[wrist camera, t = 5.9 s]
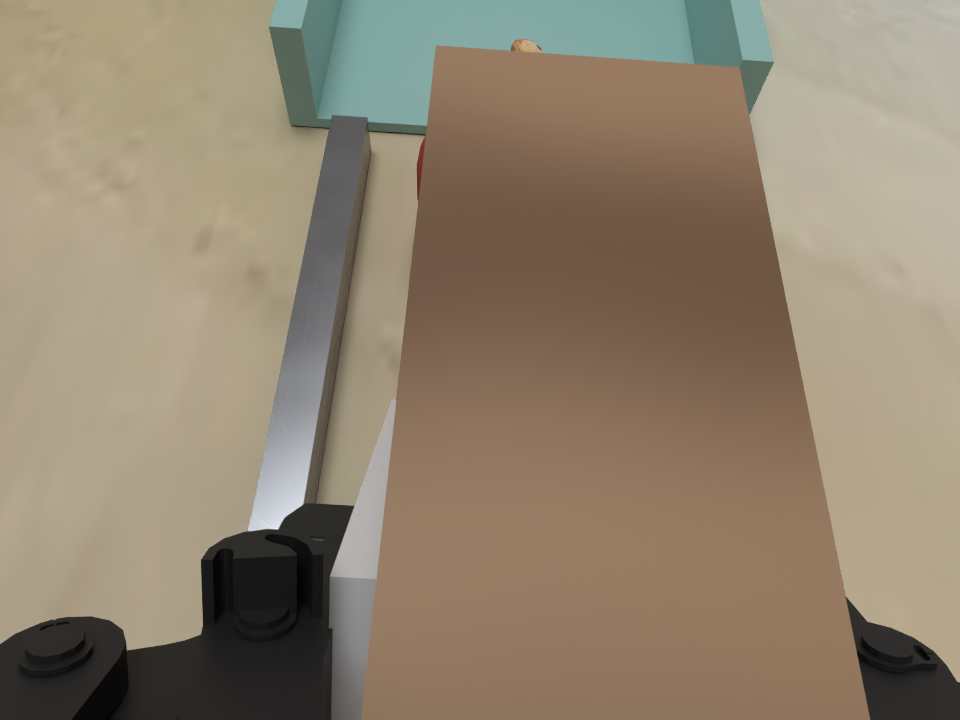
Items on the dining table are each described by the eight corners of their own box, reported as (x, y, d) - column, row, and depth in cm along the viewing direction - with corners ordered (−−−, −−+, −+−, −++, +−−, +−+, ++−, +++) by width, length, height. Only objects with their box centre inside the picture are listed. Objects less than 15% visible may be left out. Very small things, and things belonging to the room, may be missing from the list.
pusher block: (605, 895, 14) (950, 1107, 5) (397, 886, 14) (320, 1082, 5) (589, 423, 19) (739, 67, 10) (435, 414, 19) (435, 45, 10)
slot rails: (759, 732, 18) (785, 728, 16) (231, 707, 17) (213, 700, 16) (684, 171, 27) (697, 139, 25) (336, 148, 26) (331, 114, 25)
